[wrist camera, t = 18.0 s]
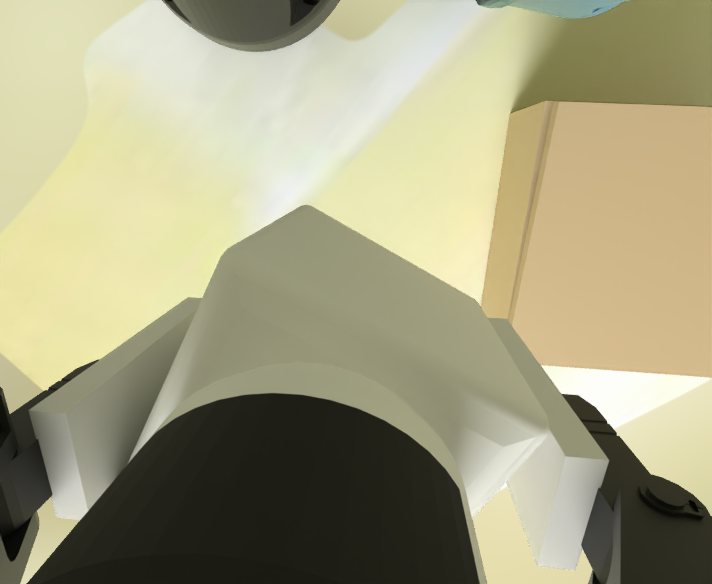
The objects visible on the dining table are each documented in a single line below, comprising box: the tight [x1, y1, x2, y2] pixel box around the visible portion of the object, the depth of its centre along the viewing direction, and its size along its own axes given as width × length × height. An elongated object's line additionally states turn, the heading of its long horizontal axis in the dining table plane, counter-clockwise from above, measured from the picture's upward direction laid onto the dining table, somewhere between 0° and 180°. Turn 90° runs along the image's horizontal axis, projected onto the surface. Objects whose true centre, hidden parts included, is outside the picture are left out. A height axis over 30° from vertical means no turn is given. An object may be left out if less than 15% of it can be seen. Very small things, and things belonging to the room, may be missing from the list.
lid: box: [509, 101, 712, 377], centre depth 24 cm, size 16×14×1 cm
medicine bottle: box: [27, 205, 550, 584], centre depth 9 cm, size 7×7×12 cm
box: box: [481, 100, 712, 321], centre depth 28 cm, size 16×14×7 cm
